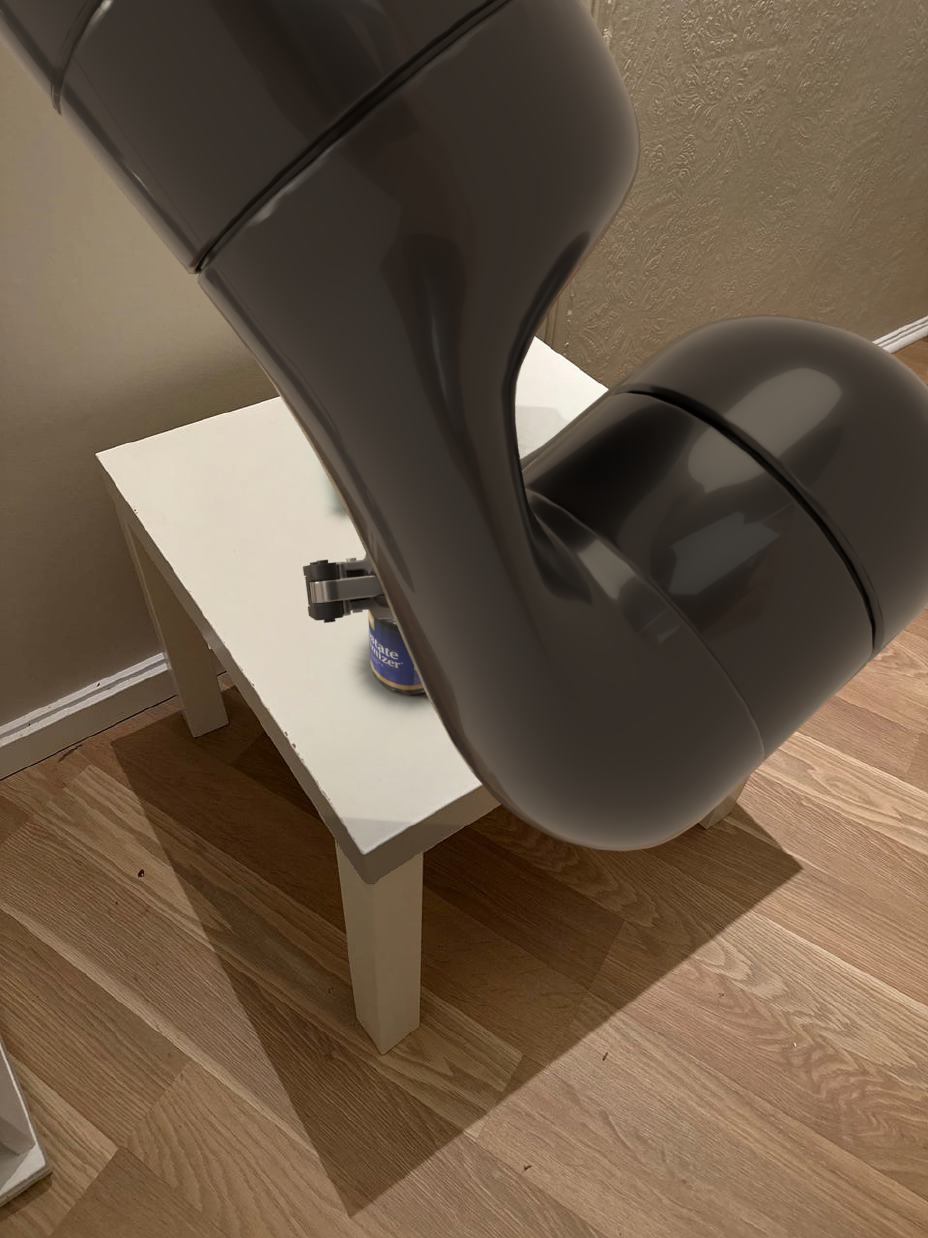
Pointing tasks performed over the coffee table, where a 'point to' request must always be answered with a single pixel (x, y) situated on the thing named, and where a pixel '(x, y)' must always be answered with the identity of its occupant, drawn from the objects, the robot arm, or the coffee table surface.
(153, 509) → the coffee table surface
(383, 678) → the pill bottle
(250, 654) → the coffee table surface
